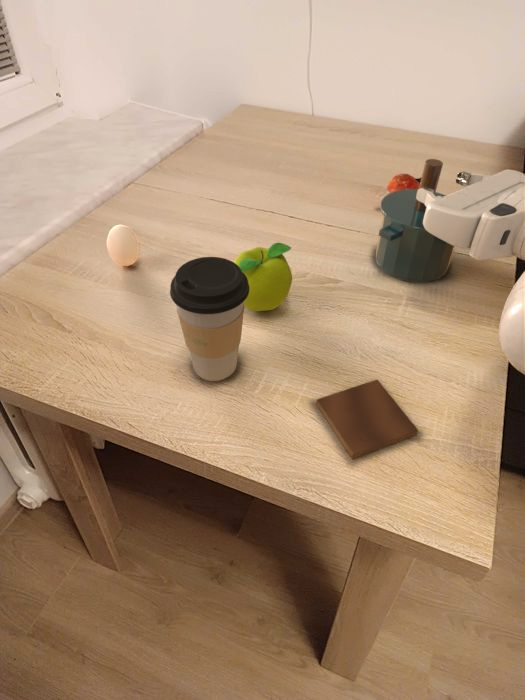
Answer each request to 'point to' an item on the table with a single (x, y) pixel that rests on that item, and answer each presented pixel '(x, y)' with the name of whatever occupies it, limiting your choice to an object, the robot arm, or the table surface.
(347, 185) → the table surface
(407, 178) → the pomegranate
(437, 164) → the lid
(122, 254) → the egg
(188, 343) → the coffee cup
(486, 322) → the table surface
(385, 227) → the pot
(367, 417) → the plate
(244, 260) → the fruit
